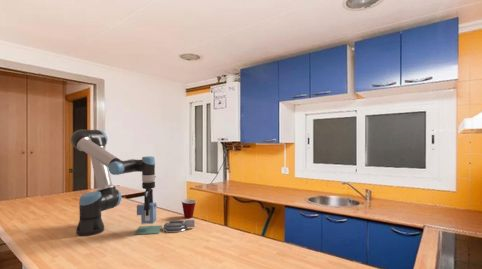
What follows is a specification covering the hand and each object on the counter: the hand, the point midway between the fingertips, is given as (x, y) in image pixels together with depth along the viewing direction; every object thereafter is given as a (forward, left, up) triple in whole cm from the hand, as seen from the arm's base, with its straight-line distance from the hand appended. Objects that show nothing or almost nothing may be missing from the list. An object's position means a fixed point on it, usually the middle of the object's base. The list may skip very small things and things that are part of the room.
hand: (148, 218), depth 170 cm
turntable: (+18, +1, -6) cm, 19 cm away
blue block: (-1, 0, -2) cm, 2 cm away
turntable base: (+16, +1, -7) cm, 17 cm away
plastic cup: (+23, +25, -8) cm, 35 cm away
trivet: (0, 0, -7) cm, 7 cm away
